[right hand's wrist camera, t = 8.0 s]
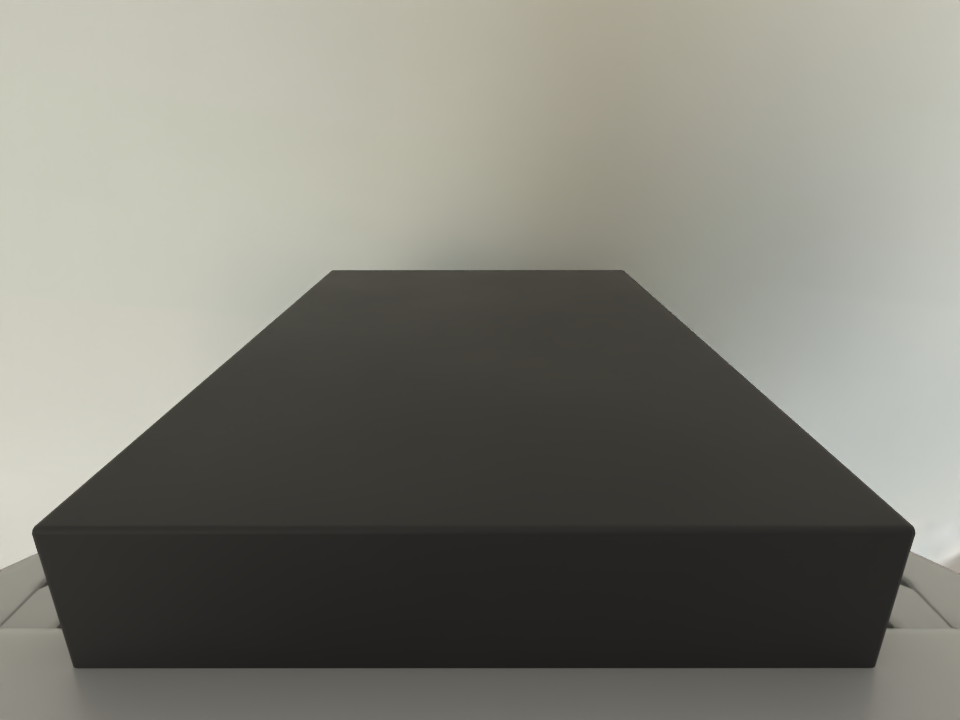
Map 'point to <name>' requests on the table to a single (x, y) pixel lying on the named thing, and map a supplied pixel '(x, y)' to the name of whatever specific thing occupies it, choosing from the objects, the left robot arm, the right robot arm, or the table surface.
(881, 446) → the table surface
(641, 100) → the table surface
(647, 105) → the table surface
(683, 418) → the box
